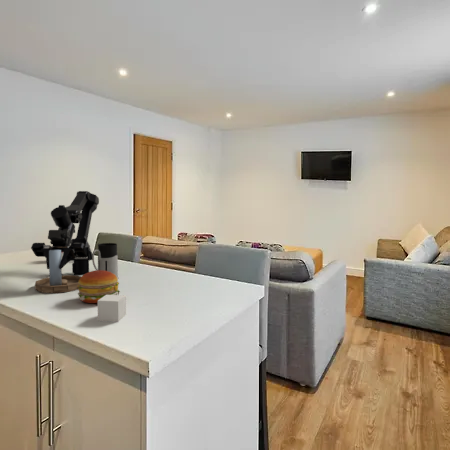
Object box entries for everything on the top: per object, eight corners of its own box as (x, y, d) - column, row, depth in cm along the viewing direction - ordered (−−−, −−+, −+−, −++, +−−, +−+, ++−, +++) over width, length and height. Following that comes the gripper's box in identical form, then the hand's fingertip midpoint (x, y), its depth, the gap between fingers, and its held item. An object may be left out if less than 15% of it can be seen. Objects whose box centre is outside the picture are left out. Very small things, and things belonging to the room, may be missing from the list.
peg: (60, 283, 130) (60, 249, 129) (62, 285, 127) (62, 250, 126) (48, 284, 128) (48, 250, 127) (50, 287, 125) (49, 251, 124)
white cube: (97, 321, 98) (97, 300, 97) (106, 314, 104) (106, 294, 103) (118, 322, 97) (118, 301, 97) (126, 315, 103) (125, 295, 103)
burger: (71, 299, 118) (70, 270, 117) (108, 292, 127) (108, 265, 126) (87, 308, 108) (87, 277, 107) (127, 300, 118) (126, 271, 117)
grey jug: (122, 278, 149) (122, 243, 147) (102, 286, 135) (102, 248, 134) (105, 276, 151) (104, 242, 150) (83, 284, 137) (83, 246, 136)
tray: (84, 280, 144) (84, 274, 144) (86, 290, 128) (86, 283, 128) (37, 283, 137) (37, 277, 137) (33, 295, 121) (33, 288, 121)
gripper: (32, 221, 129) (18, 255, 119) (84, 221, 130) (74, 255, 120) (42, 239, 137) (30, 273, 127) (90, 239, 139) (82, 273, 129)
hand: (53, 268), depth 126 cm, fingers closed on peg, 4 cm apart
